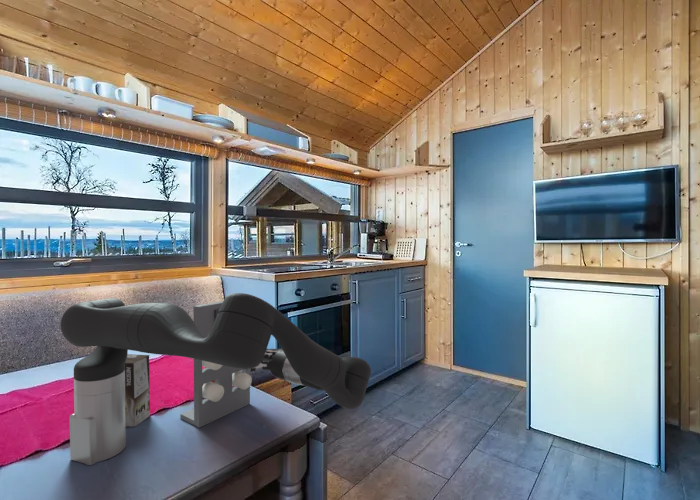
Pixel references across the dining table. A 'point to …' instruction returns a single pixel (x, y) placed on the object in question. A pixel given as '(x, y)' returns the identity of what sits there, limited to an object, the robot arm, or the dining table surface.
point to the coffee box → (137, 389)
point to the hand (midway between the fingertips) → (246, 352)
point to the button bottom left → (212, 391)
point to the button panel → (213, 378)
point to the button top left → (211, 365)
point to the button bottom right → (241, 380)
